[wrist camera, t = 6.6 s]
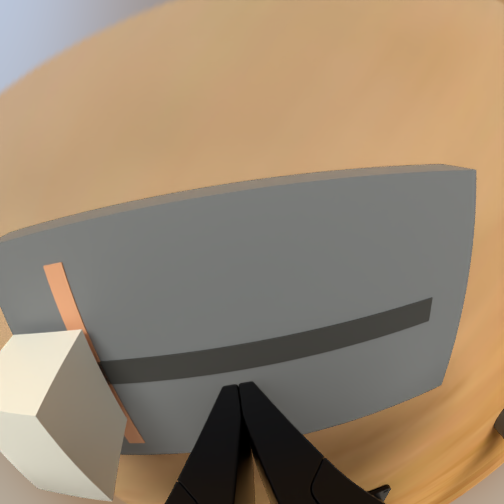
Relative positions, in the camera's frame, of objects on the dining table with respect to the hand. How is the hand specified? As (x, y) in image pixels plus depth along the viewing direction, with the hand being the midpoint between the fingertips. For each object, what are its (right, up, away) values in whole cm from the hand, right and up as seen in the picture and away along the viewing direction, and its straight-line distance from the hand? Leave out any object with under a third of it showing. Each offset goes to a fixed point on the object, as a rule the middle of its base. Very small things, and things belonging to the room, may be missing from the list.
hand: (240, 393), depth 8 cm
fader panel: (0, +1, +3) cm, 4 cm away
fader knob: (-6, -1, +1) cm, 6 cm away
